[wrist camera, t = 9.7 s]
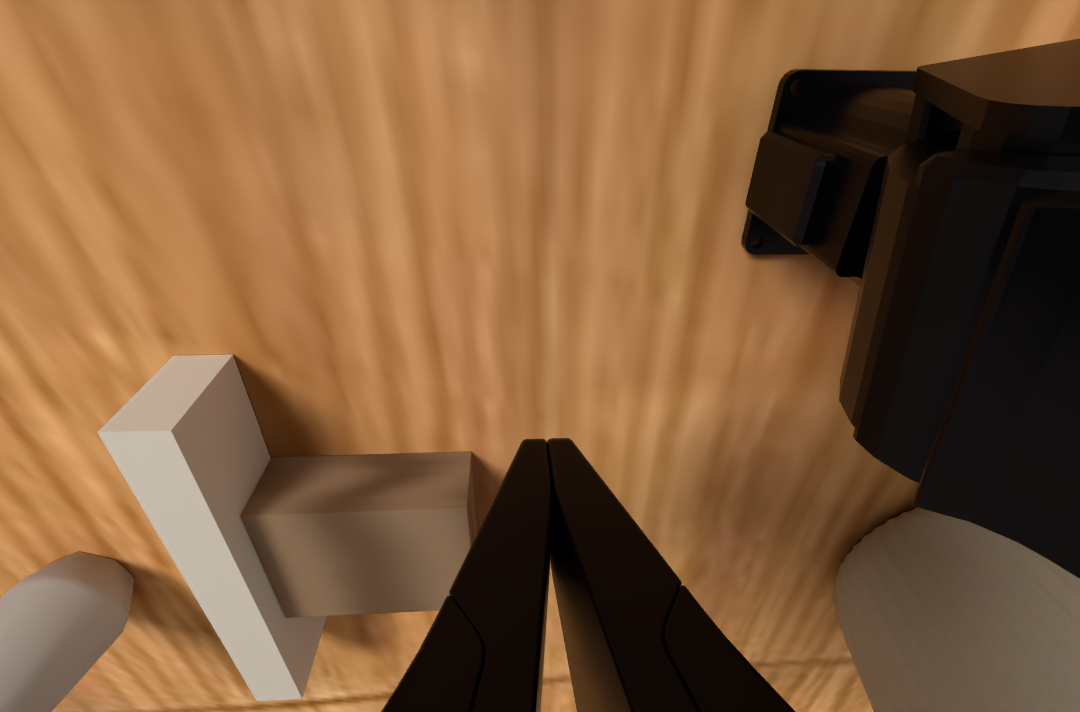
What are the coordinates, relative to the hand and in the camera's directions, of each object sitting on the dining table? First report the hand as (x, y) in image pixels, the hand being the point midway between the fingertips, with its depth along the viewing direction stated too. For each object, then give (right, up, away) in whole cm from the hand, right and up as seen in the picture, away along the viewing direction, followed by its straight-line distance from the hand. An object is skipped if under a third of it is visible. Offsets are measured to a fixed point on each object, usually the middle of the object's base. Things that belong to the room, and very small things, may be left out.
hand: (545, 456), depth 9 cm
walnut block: (-9, -6, +20) cm, 22 cm away
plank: (-15, -7, +19) cm, 25 cm away
